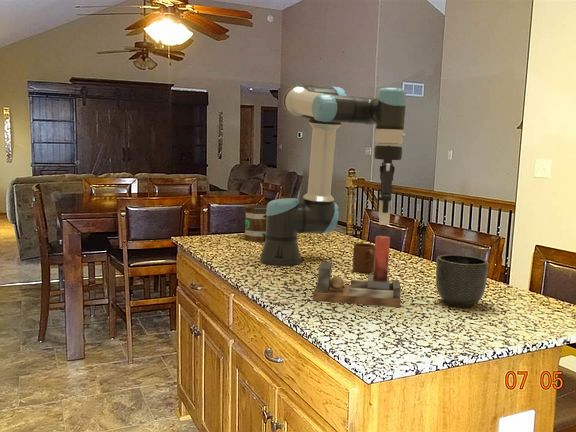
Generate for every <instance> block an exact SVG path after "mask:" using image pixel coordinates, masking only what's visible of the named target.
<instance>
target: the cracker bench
mask: <svg viewBox="0 0 576 432" xmlns="http://www.w3.org/2000/svg"><path fill="white" fill-rule="evenodd" d="M317 271H318V274H317V275H318V276H317V284H316V286H315V289H314V291H313V293H312V297H313V298H312V301H318V302H328V303H329V302H331V303H340V304H341V303H343V304H353V305H354V304H355V305H366V306H367V305H369V306H379V307H380V306H381V307H392V308H395V307H396V308H400V307H401V293H402V292H401V291H402V286H401V281H400V280H399V279H392V280H391V281H389V282H390V284H389V291H388V290H375V289H367V283H368V279H367V280H365V279H353V278H350V285H349V284H344V285H343V287H342V288H341V289H333V288H332V287H331V286H330V280H331V278H332V261H321V262H320V264H319V266H318V270H317Z"/></svg>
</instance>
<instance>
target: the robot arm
mask: <svg viewBox="0 0 576 432" xmlns="http://www.w3.org/2000/svg"><path fill="white" fill-rule="evenodd" d="M406 93H407V92H406V90H405V89H403V88H399V87H382V88H379V90H378V92H377V97H367V96H366V97H365V96H354V95H353V96H351V95H350V96H349V95H347V92H346V91H345V90H344V89H343V88H342V87H338V86H332V85H318V84H306V83H305V84H303V83H301V84H297V85H292V86H291V87H289V88H288V89H287V90H285V92H284V93H283V97H282V106H283V108H284V110H285V111H286V112H287V113H288V114H289V115H290V116H294V117H297V118H303V119H308V123H309V125H310V127H311V128H312V132H311V145H310V146H311V147H310V159H309V168H308V169H309V171H308V183H307V184H308V185H307V192H306V194H304V195H303V197H302V201H300V200H299V199H298V198H296V197H290V198H288V197H287V198H277V199H273V200H270V201H269V202H268V203H267V204H266V206H267V211H266V241H265V242H264V243H263V247H262V251H261V253H260V255H259V257H260V259H259V261H260V262H261V263H263V264H266V265H272V266H296V265H298V264H301V262H302V256H301V254H300V248H299V245H298V234H319V235H321V234H328V233H329V234H330V233H332V232H333V230H334V229H335V228H336V227H337V225H338V221H339V215H340V214H339V213H340V212H339V205H338V204H337V203H336V202H335V198H334V197H333V196H332V194H331V192H332V180H333V170H334V158H335V149H336V148H335V147H336V136H337V130H338V129H339V127H341V126H342V123H348V124H349V123H350V124H363V125H364V124H365V125H371V126H373V125H375V135H374V136H375V137H374V138H375V139H374V143H375V144H376V145H375V146H374V151H373V152H374V155H373V158H374V159H375V160H383V161H381V162H382V163H381V165H380V166H379V173H380V174H379V180H380V189H379V196H378V201H379V202H378V204H379V205H378V219H379V220H378V221H379V222H378V225H382V226H383V225H384V226H390V221H391V219H390V217H391V205H392V201H391V200H392V197H393V196H392V190H393V189H392V187H393V186H392V185H393V180H394V174H395V169H396V167H395V166H394V164H393V161H401V160H402V158H403V147H402V146H401V145H402V144H403V141H404V140H403V138H406V133H404V128H405V116H406V105H407V102H406V99H407V98H406V97H407V96H406V95H407V94H406Z"/></svg>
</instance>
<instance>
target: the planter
mask: <svg viewBox="0 0 576 432" xmlns="http://www.w3.org/2000/svg"><path fill="white" fill-rule="evenodd" d="M435 266H436V268H435V270H436V271H435V285H436V291H437V294H438V296H439V297H440V298H441V299H442V300H443V302H444V303H445V304H446V305H448V306H452V307H456V308H463V309H464V308H472V307H474V305H476V303H478V302H480V301H481V299H482V298H483V296H484V294H485V290H486V285H487V279H488V272H489V261H488V260H487V259H484V258H480V257H476V256H471V255H465V254H441V255H438V256H437V257H436V263H435Z"/></svg>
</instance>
